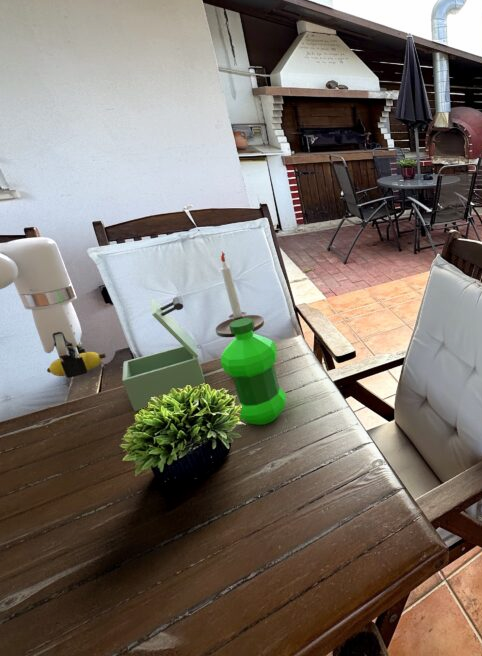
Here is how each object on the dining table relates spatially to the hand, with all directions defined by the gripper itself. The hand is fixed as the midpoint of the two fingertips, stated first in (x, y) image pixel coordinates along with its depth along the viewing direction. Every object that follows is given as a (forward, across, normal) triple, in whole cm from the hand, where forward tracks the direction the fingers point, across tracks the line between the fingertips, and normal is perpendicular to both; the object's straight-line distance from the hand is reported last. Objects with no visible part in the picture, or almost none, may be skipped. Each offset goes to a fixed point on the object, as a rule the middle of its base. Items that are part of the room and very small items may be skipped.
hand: (78, 369), depth 90 cm
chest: (+12, -1, +14) cm, 18 cm away
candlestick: (+12, +3, +31) cm, 34 cm away
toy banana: (0, 0, 0) cm, 0 cm away
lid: (-4, -1, +18) cm, 18 cm away
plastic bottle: (+12, +27, +30) cm, 42 cm away
